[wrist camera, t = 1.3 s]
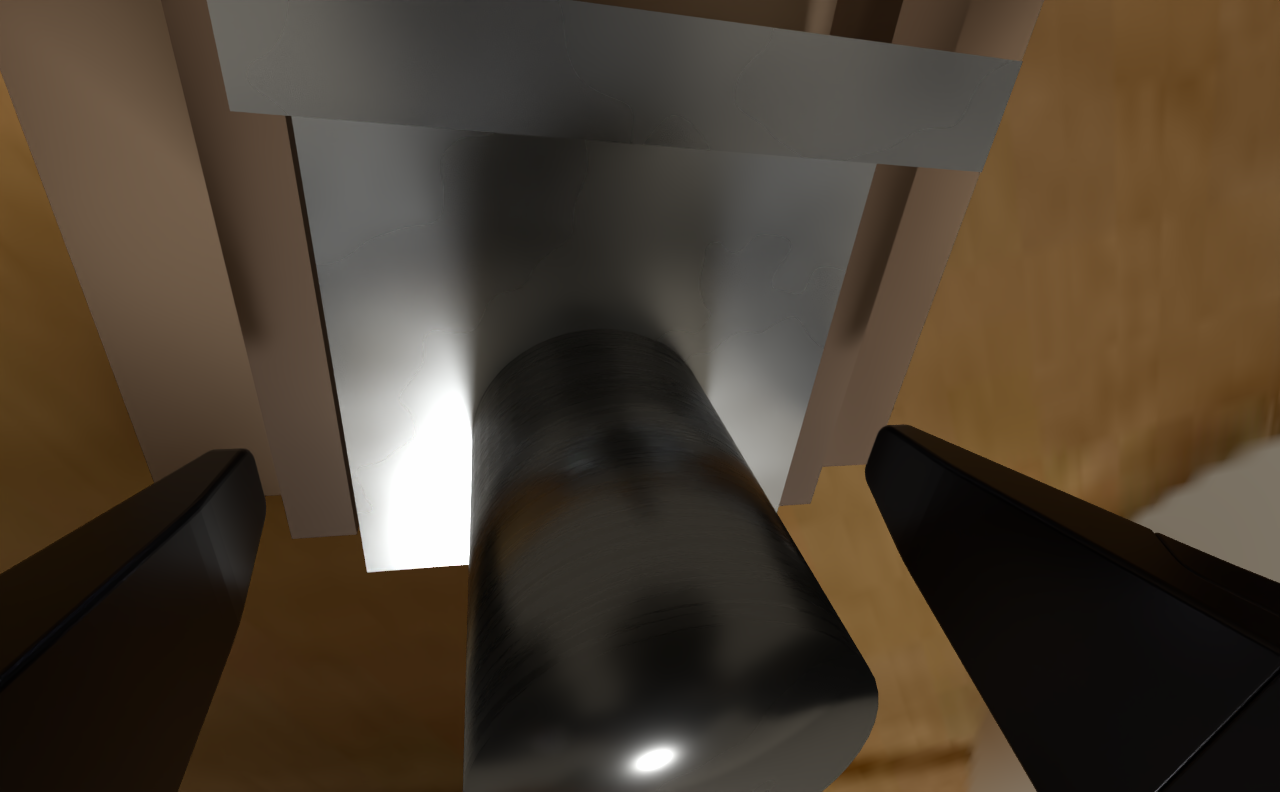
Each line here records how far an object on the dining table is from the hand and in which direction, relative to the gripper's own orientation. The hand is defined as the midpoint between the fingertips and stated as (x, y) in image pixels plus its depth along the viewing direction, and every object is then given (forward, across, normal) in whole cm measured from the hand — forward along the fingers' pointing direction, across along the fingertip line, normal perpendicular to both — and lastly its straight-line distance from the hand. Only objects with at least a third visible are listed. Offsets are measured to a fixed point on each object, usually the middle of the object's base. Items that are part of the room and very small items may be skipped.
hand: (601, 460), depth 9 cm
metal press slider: (+3, 0, -2) cm, 3 cm away
